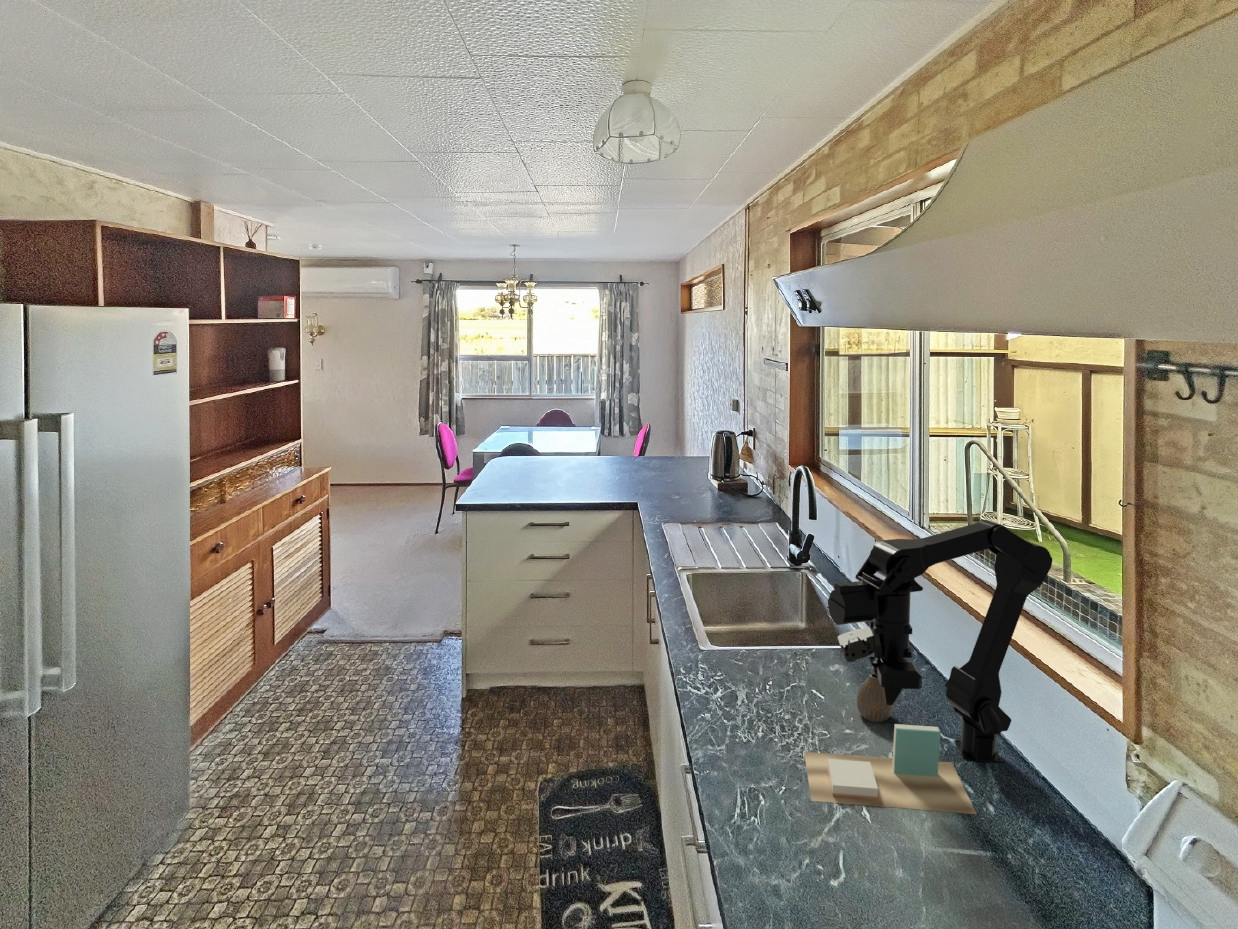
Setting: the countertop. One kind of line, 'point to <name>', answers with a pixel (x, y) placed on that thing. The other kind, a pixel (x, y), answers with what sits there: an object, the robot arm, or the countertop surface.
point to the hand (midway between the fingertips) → (889, 704)
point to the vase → (873, 701)
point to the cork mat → (893, 786)
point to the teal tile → (916, 750)
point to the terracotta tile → (852, 778)
